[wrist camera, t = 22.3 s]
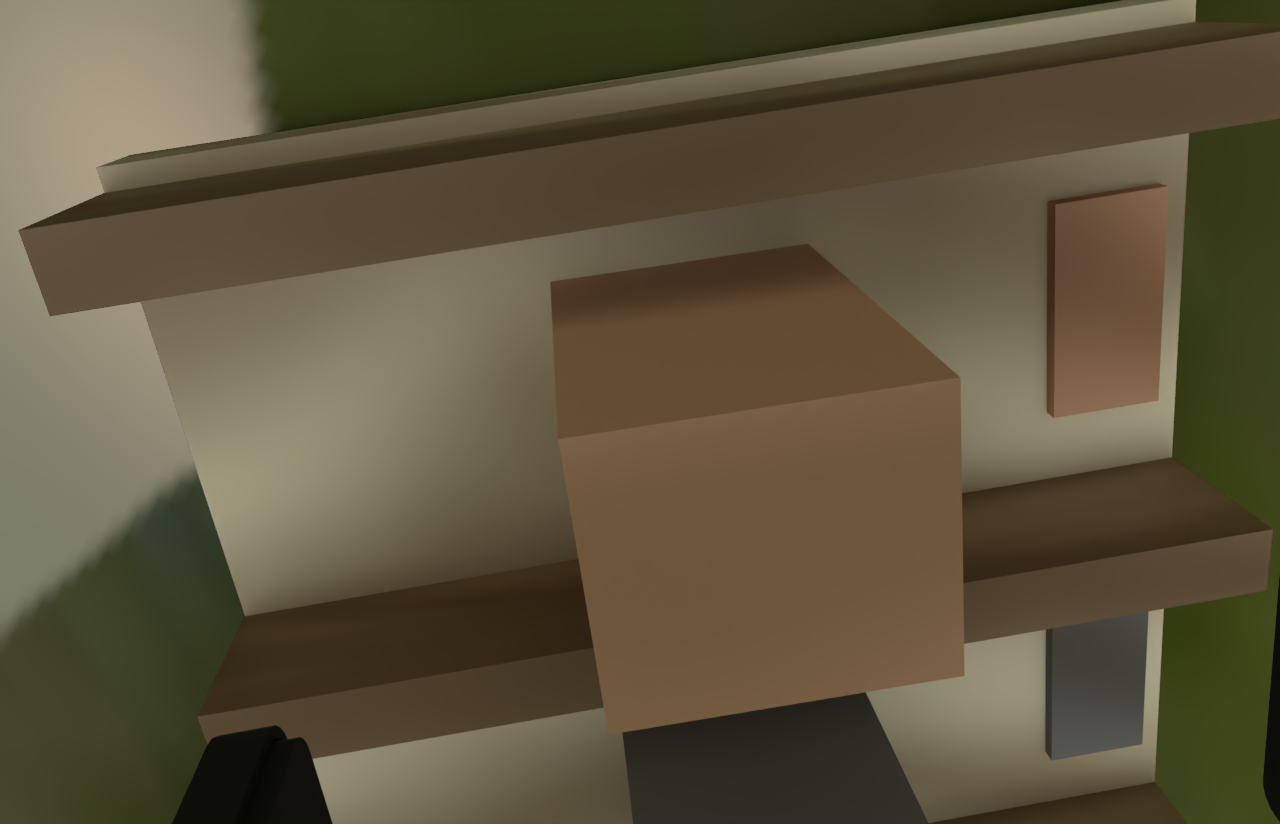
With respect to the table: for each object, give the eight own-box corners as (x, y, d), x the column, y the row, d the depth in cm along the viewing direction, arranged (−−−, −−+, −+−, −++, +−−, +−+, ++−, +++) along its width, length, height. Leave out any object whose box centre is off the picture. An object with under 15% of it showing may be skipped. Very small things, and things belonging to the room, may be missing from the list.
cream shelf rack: (1117, 791, 25) (1232, 946, 21) (375, 926, 25) (343, 1114, 20) (1147, -4, 19) (1323, -6, 14) (130, 155, 18) (8, 200, 14)
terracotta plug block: (822, 453, 20) (964, 675, 13) (584, 490, 19) (608, 734, 13) (807, 243, 18) (960, 377, 12) (550, 281, 18) (557, 438, 11)
